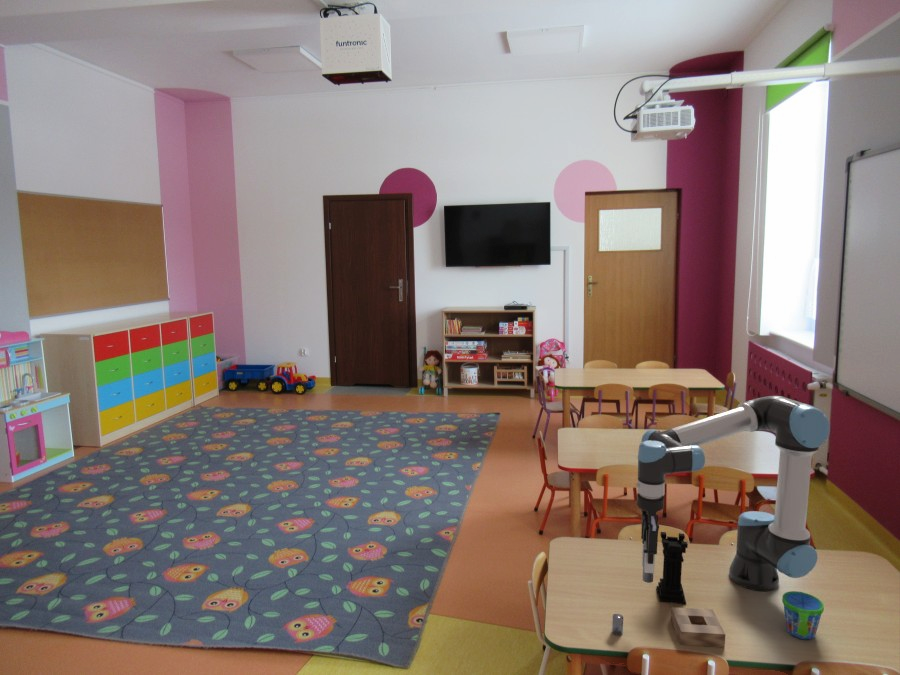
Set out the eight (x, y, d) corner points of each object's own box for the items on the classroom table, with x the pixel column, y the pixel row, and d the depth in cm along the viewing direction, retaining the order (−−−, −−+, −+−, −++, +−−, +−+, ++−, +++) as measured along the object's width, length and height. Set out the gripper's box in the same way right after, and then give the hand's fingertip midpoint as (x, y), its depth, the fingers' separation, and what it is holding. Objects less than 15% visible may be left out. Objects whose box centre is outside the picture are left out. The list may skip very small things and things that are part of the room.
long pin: (652, 577, 190) (653, 540, 188) (653, 583, 187) (655, 545, 185) (641, 577, 190) (643, 539, 188) (643, 582, 187) (644, 544, 185)
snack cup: (782, 613, 194) (785, 583, 192) (822, 624, 188) (825, 593, 187) (776, 640, 181) (779, 608, 179) (819, 653, 175) (822, 620, 174)
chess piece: (685, 604, 199) (689, 545, 196) (659, 601, 201) (662, 542, 198) (681, 590, 207) (685, 533, 204) (656, 588, 209) (659, 531, 205)
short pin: (621, 629, 187) (622, 614, 186) (623, 635, 184) (624, 620, 183) (611, 629, 187) (611, 613, 186) (612, 635, 184) (613, 619, 183)
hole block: (711, 621, 190) (712, 609, 190) (724, 647, 178) (725, 634, 178) (670, 619, 191) (671, 607, 191) (680, 644, 180) (681, 631, 179)
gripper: (632, 483, 192) (630, 555, 196) (642, 505, 177) (640, 583, 180) (658, 483, 191) (655, 556, 195) (670, 506, 176) (667, 584, 180)
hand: (648, 568), depth 188 cm, fingers closed on long pin, 3 cm apart
